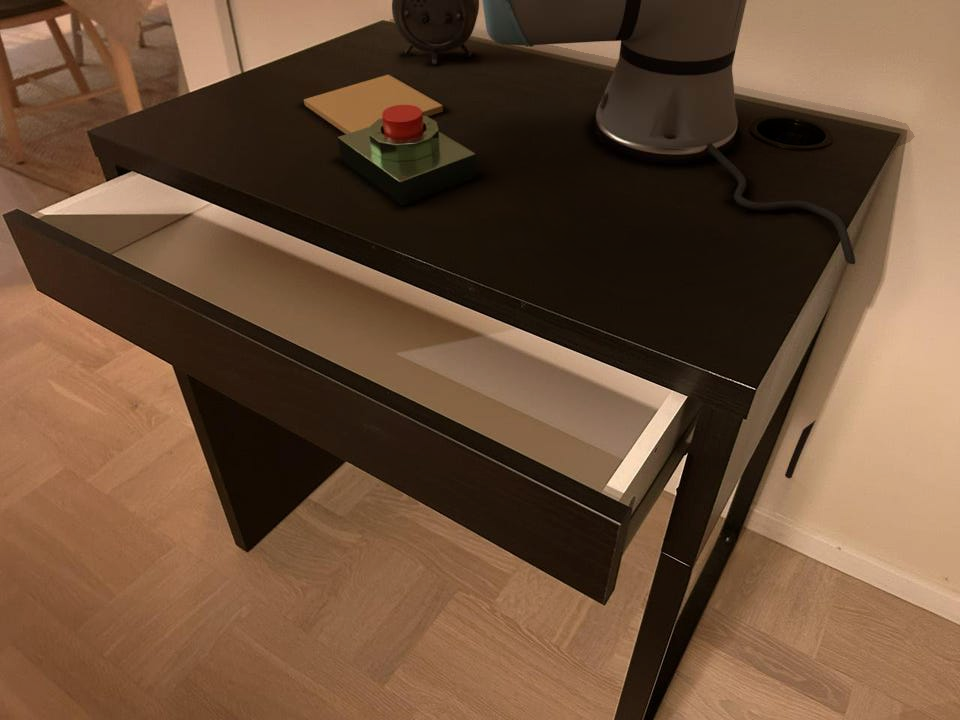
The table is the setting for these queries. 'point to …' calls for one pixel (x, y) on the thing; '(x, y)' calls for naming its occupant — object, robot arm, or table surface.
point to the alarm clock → (435, 24)
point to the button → (402, 121)
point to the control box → (407, 161)
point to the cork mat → (368, 103)
